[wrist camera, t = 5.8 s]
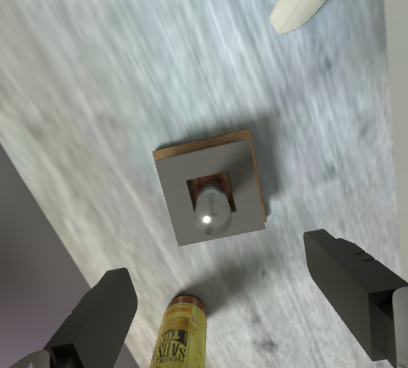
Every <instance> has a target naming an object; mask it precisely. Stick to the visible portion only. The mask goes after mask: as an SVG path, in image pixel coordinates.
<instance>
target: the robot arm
mask: <svg viewBox="0 0 408 368" xmlns="http://www.w3.org/2000/svg"><path fill="white" fill-rule="evenodd" d="M304 245H305V252H306V260H307V266H308V270H309V272H310V275H311V277H312V279H313V280H314V282H315V283H316V284H317V286H318V287H319V289H320V290H321V291H322V293H323V294H324V295H325V297H326V298H327V300H328V301H329V302H330V304H331V305H332V306H333V308H334V309H335V311H336V312H337V313H338V315H339V316H340V317H341V319H342V320H343V322H344V323H345V324H346V326H347V327H348V328H349V330H350V331H351V333H352V334H353V335H354V337H355V338H356V339H357V341H358V342H359V344H360V345H361V346H362V348H363V349H364V350H365V352H366V353H367V355H368V356H369V357H370V359H371V360H372V361H378V360H385V359H387V360H388V361H389V362H390V364H391V365H392V366H393V367H394V368H408V283H407V282H406V281H405V280H403V279H402V278H400V277H399V276H398V275H396V274H395V273H394V272H392V271H391V270H390V269H388V268H387V267H386V266H384V265H383V264H382V263H380V262H379V261H377V260H375V259H374V258H373V257H372V256H371V255H369V254H368V253H365V251H364V250H363V249H361V248H360V247H359V246H357V245H356V244H355V243H352V242H349V241H347V240H344V239H342V238H338V239H335V238H334V237H333V236H332V235H330V234H329V233H328V232H327V231H326V230H324V229H319V230H314V231H309V232H305V233H304ZM137 305H138V300H137V295H136V292H135V289H134V286H133V284H132V281H131V278H130V275H129V272H128V270H127V269H126V268H119V269H114V270H109V271H107V272H106V273H105V274H104V276H103V277H102V278H101V280H100V281H99V282H98V284H97V285H95V286H94V287H93V288H92V289H91V290H90V291H88V292H87V293H86V294H85V295H84V296H83V298H82V299H81V300H80V302H79V303H78V304H77V307H75V308H74V310H73V311H72V312H71V315H69V316H68V317H67V319H66V320H65V321H64V322H63V324H62V325H61V326H60V328H59V329H58V330H57V331H56V333H55V334H54V335H53V337H52V338H51V339H50V340H49V342H48V343H47V344H46V346H45V347H44V348H43V349H42V350H38V351H35V352H32V353H30V354H28V355H26V356H24V357H23V358H21V359H20V360H18V361H17V362H15V363H14V364H13V365H12V366H10V367H9V368H113V367H114V365H115V362H116V360H117V357H118V355H119V353H120V350H121V347H122V345H123V343H124V340H125V338H126V335H127V333H128V330H129V328H130V326H131V323H132V321H133V318H134V316H135V313H136V311H137Z"/></svg>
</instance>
